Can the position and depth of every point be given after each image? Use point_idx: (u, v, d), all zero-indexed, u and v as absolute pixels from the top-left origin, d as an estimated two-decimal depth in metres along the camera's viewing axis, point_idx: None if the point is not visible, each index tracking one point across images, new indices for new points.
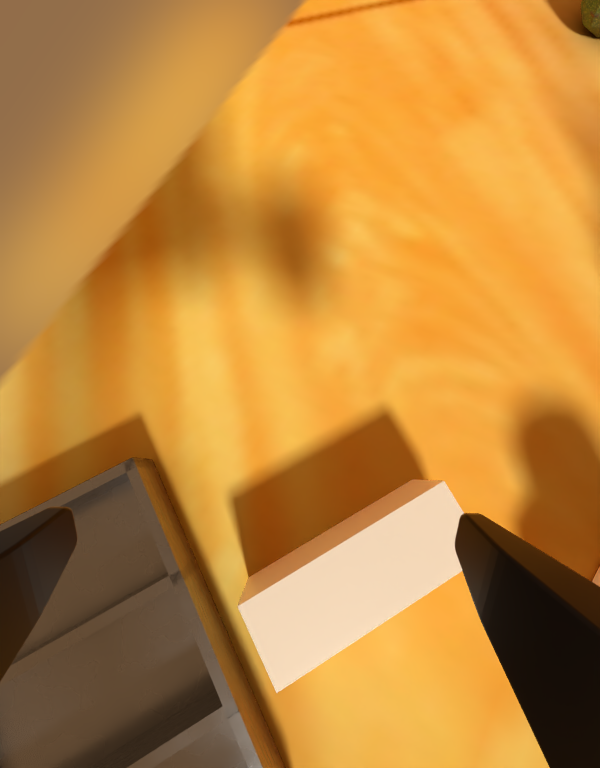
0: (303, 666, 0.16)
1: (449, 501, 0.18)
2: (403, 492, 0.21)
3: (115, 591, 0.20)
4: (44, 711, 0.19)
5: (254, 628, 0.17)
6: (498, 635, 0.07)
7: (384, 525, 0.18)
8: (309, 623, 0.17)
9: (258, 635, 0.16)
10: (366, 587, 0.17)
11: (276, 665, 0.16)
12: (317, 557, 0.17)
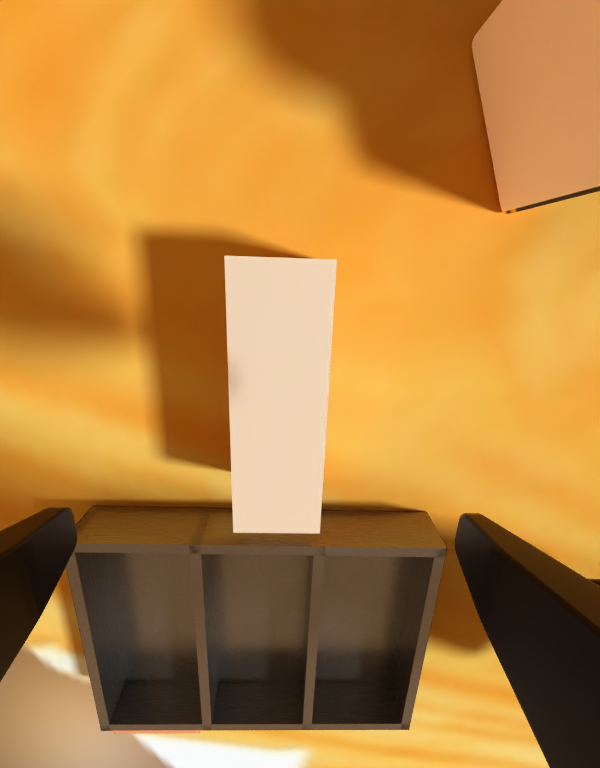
0: (314, 505, 0.16)
1: (252, 265, 0.13)
2: None
3: None
4: (254, 635, 0.24)
5: (259, 527, 0.16)
6: (498, 635, 0.07)
7: (237, 362, 0.14)
8: (283, 483, 0.15)
9: (267, 527, 0.16)
10: (286, 417, 0.14)
11: (299, 524, 0.16)
12: (231, 446, 0.15)
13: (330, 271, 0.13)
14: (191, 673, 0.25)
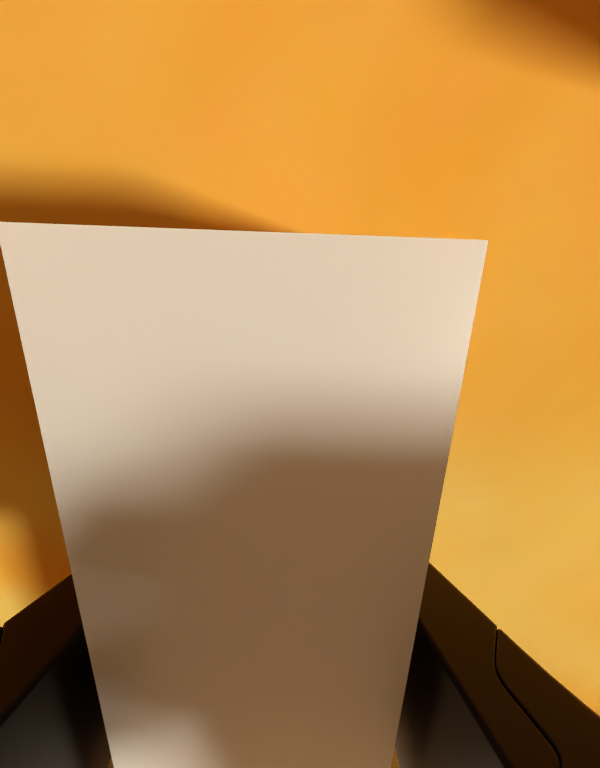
0: None
1: (126, 267, 0.03)
2: None
3: None
4: None
5: None
6: None
7: (109, 595, 0.04)
8: None
9: None
10: (278, 722, 0.05)
11: None
12: None
13: (455, 290, 0.03)
14: None
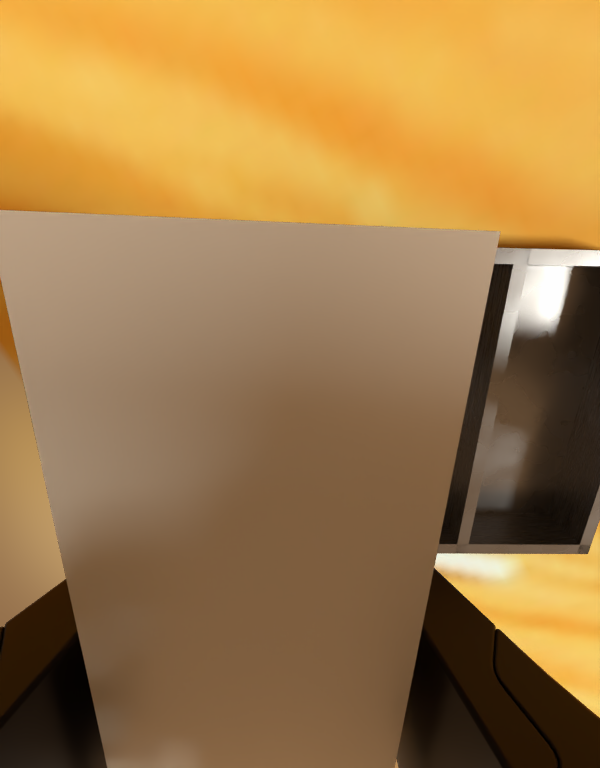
0: None
1: (123, 258, 0.03)
2: None
3: None
4: None
5: None
6: None
7: (103, 599, 0.04)
8: None
9: None
10: (278, 730, 0.05)
11: None
12: None
13: (465, 284, 0.03)
14: None
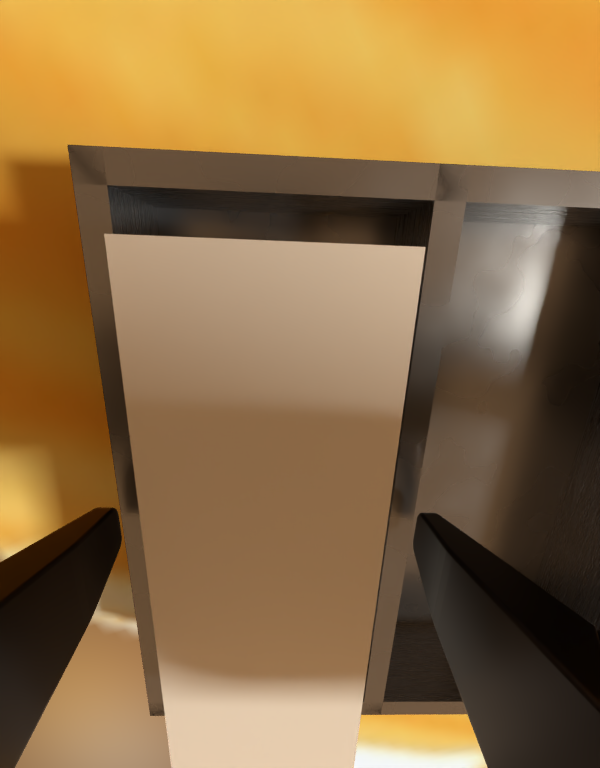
0: (340, 756, 0.08)
1: (187, 263, 0.04)
2: None
3: None
4: None
5: None
6: (446, 635, 0.07)
7: (161, 503, 0.06)
8: (276, 725, 0.07)
9: None
10: (283, 611, 0.06)
11: None
12: None
13: (405, 280, 0.05)
14: None
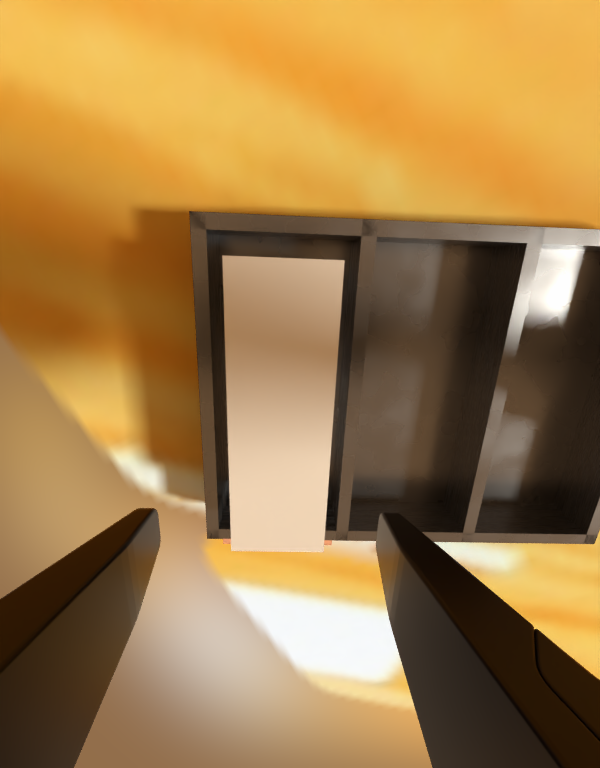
0: (318, 522, 0.15)
1: (253, 266, 0.12)
2: None
3: None
4: (394, 429, 0.19)
5: (259, 546, 0.15)
6: (400, 635, 0.07)
7: (235, 371, 0.13)
8: (285, 499, 0.14)
9: (267, 545, 0.15)
10: (289, 429, 0.13)
11: (302, 542, 0.15)
12: (229, 460, 0.14)
13: (337, 273, 0.12)
14: None
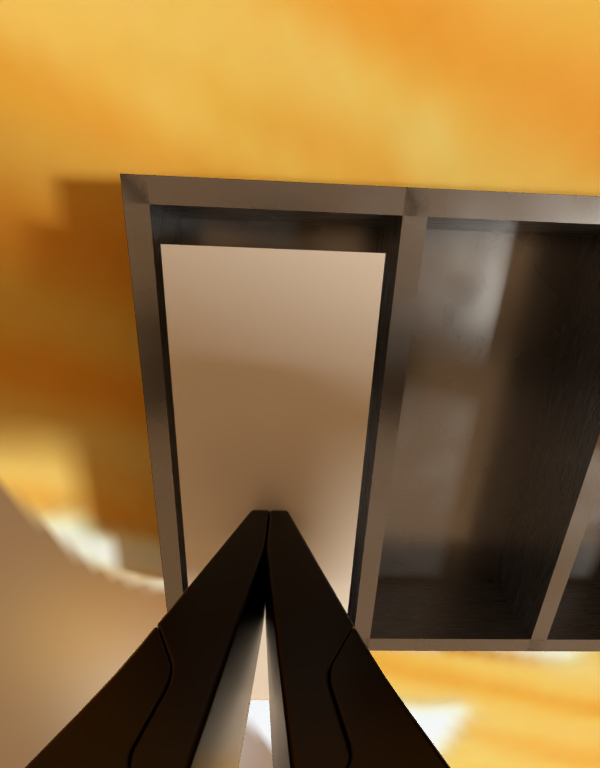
0: None
1: (218, 265, 0.06)
2: None
3: None
4: (432, 490, 0.14)
5: None
6: (267, 634, 0.07)
7: (193, 443, 0.07)
8: None
9: (252, 692, 0.10)
10: None
11: None
12: None
13: (371, 276, 0.06)
14: None
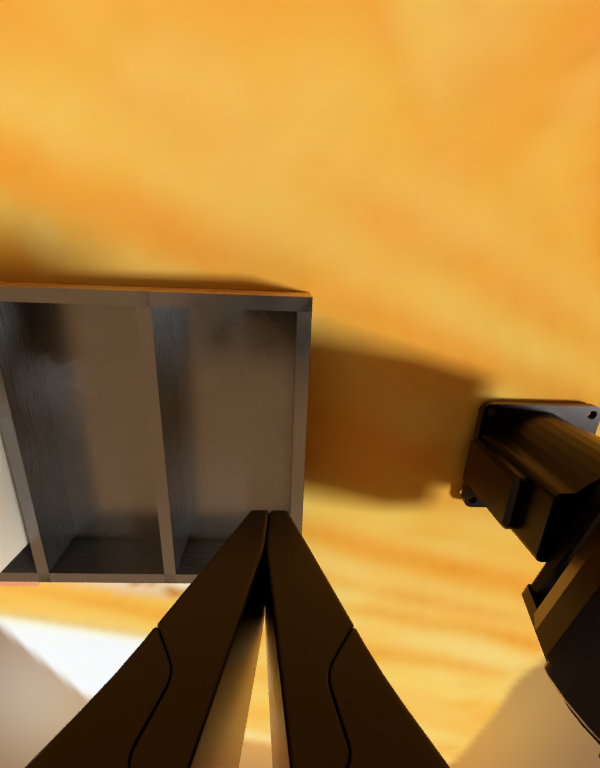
0: None
1: None
2: None
3: None
4: (109, 471, 0.20)
5: None
6: (267, 634, 0.07)
7: None
8: None
9: None
10: None
11: None
12: None
13: None
14: None
